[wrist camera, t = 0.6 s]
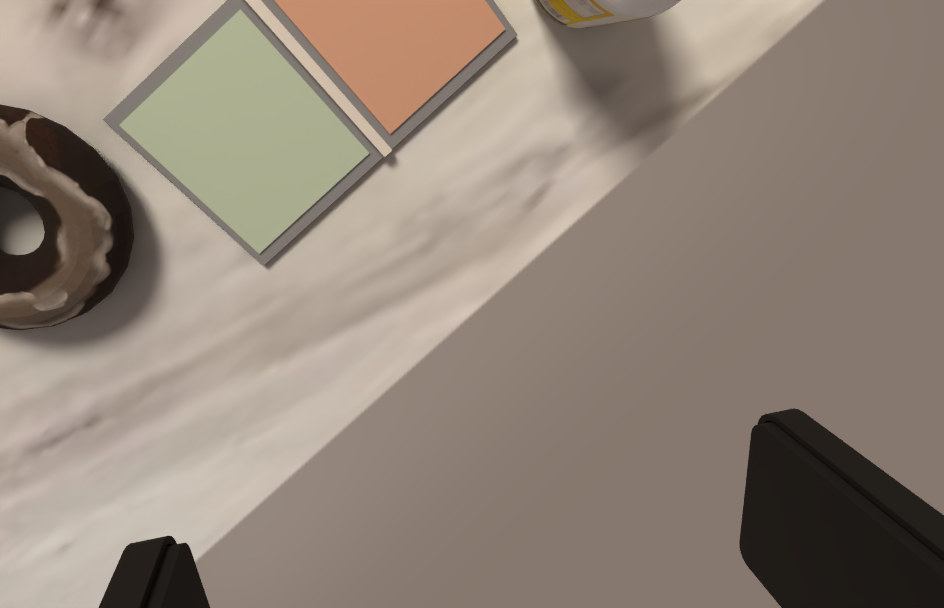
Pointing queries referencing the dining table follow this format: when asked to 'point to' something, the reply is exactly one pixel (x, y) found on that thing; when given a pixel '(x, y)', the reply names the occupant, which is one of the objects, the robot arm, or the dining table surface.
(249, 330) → the dining table surface
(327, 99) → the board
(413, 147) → the dining table surface
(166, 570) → the robot arm
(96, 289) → the donut
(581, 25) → the pill bottle
